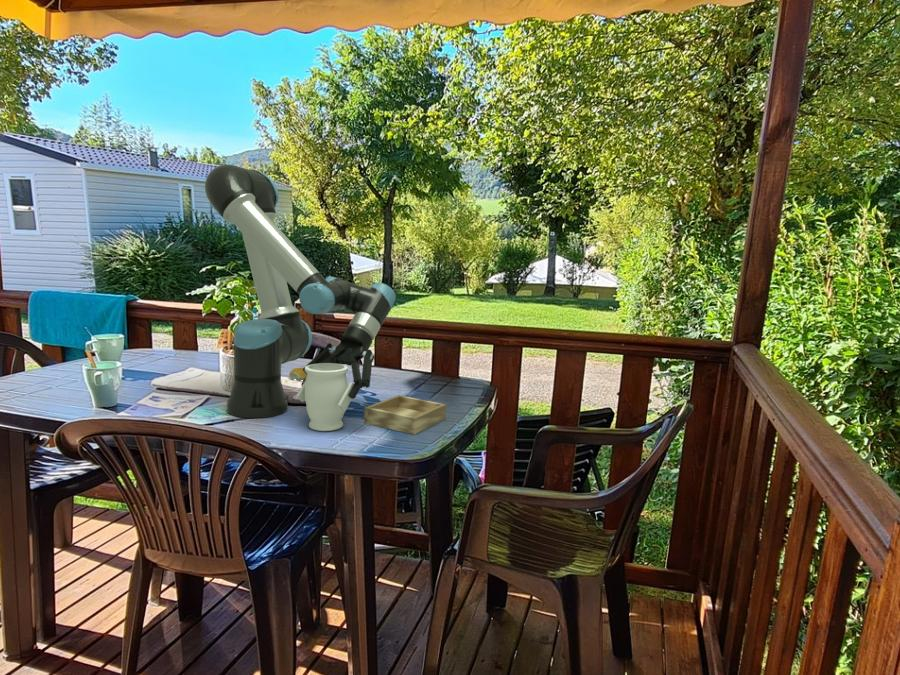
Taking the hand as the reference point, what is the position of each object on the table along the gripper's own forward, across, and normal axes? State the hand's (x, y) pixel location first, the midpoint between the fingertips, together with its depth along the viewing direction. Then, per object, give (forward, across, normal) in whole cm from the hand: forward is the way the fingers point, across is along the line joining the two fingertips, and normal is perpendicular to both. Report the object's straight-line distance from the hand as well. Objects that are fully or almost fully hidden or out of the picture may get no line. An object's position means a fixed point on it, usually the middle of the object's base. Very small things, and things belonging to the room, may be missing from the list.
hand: (320, 403), depth 140 cm
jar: (+3, 0, -6) cm, 7 cm away
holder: (-9, -13, -18) cm, 24 cm away
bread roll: (-21, +38, -31) cm, 54 cm away
